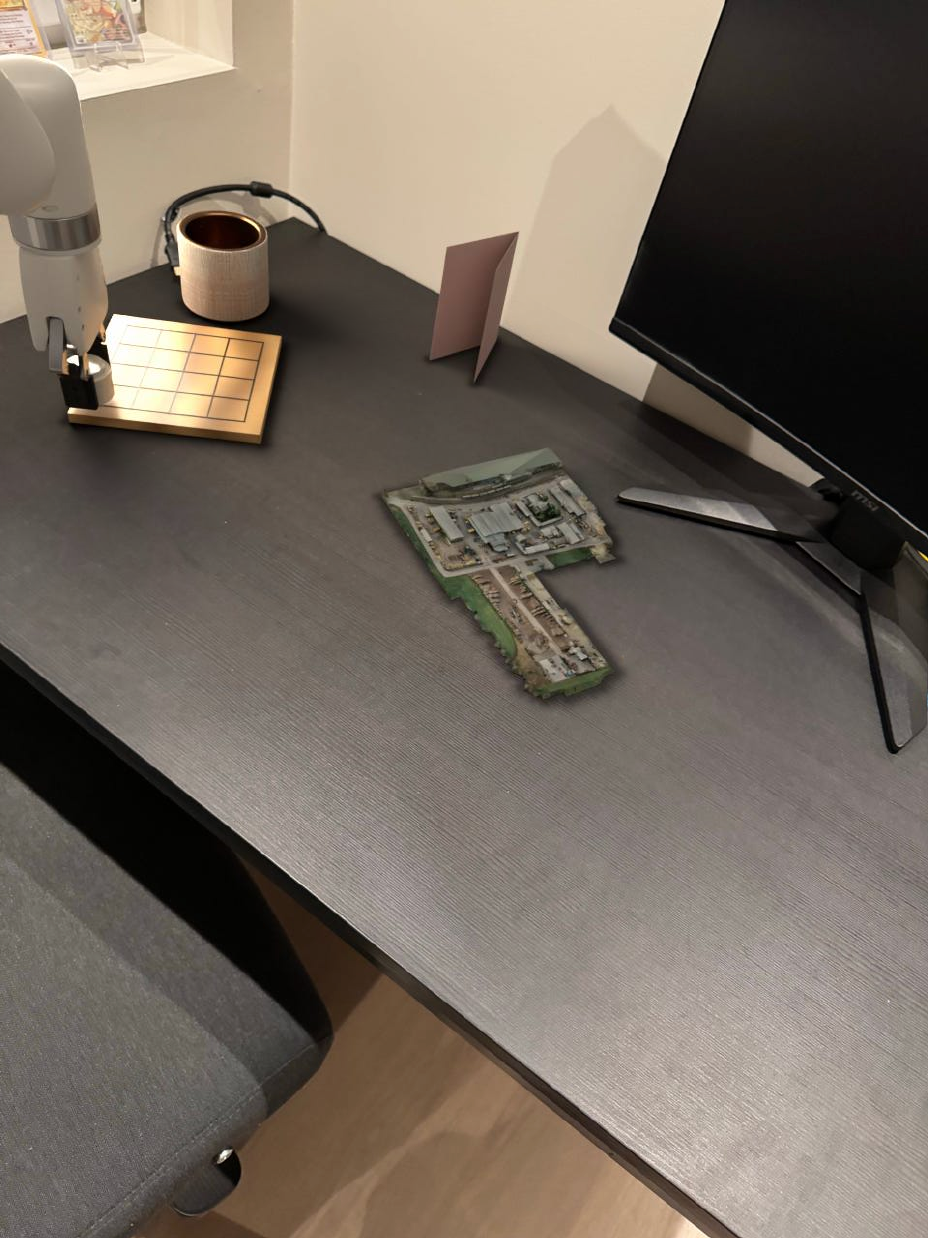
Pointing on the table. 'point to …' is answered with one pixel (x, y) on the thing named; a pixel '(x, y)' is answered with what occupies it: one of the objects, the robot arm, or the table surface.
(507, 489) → the model
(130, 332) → the board
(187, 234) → the planter
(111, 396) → the tan tin with lid
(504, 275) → the greeting card
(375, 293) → the table surface
